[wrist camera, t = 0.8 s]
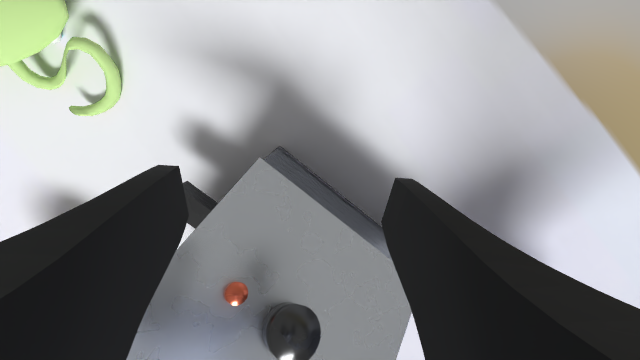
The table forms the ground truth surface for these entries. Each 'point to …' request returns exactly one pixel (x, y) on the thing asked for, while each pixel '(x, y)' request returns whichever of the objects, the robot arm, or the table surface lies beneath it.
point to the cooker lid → (274, 285)
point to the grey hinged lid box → (311, 185)
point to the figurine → (39, 31)
